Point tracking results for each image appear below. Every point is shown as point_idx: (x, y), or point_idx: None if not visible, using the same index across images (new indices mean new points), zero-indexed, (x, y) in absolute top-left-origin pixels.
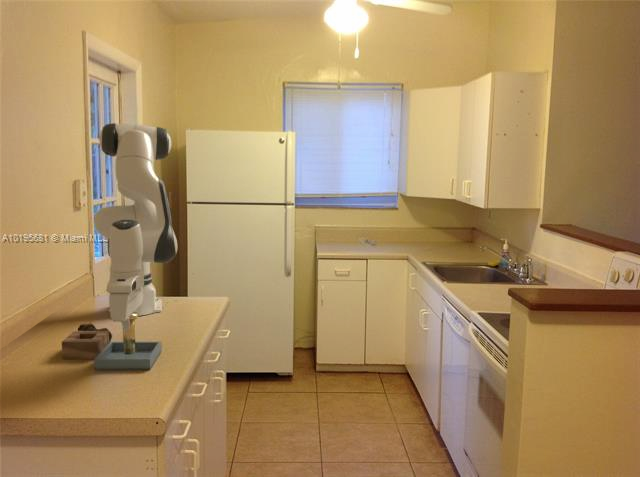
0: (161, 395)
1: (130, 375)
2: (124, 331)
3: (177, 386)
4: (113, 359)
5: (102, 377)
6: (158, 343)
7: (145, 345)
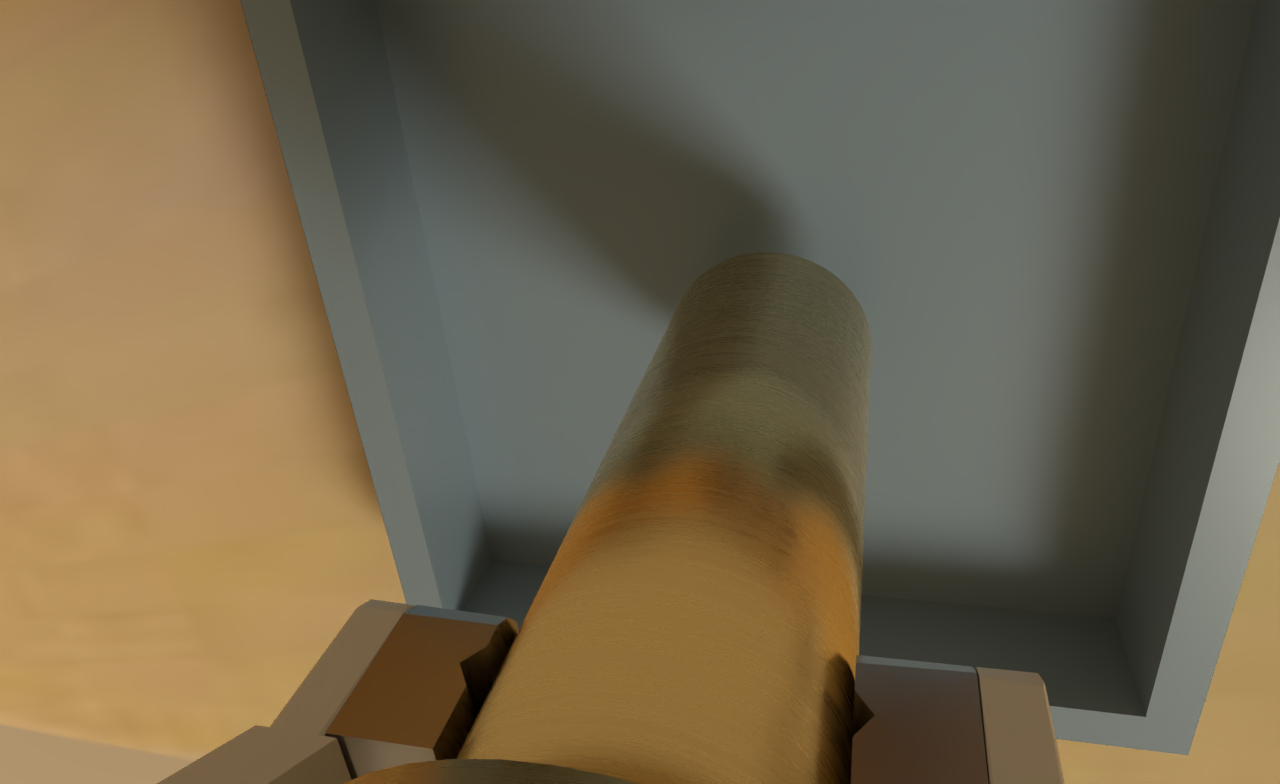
0: (29, 673)
1: (292, 404)
2: (556, 559)
3: (199, 757)
4: (303, 222)
5: (144, 99)
6: (1084, 721)
7: (1176, 512)
